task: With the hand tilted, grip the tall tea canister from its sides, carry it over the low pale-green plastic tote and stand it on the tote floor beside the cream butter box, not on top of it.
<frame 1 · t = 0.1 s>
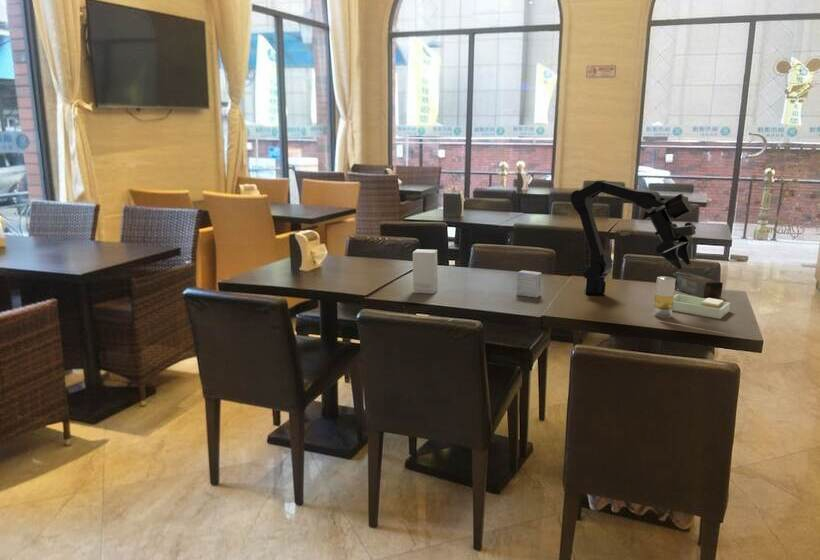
hand: (684, 266, 217), 15 cm above the table, tool tilted 35°, fingers open, 9 cm apart
skincare box: (424, 292, 239), on the table
medicine box: (528, 295, 235), on the table
butter box: (711, 312, 214), resting on tote
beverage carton: (694, 293, 242), on the table
tote: (697, 311, 217), on the table
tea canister: (662, 317, 210), on the table
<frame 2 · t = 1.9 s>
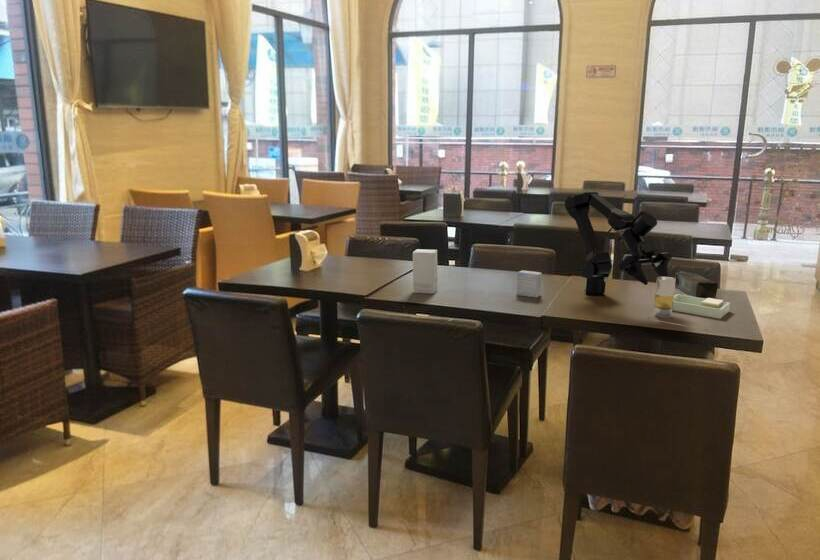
hand: (657, 283, 211), 11 cm above the table, tool tilted 45°, fingers open, 9 cm apart
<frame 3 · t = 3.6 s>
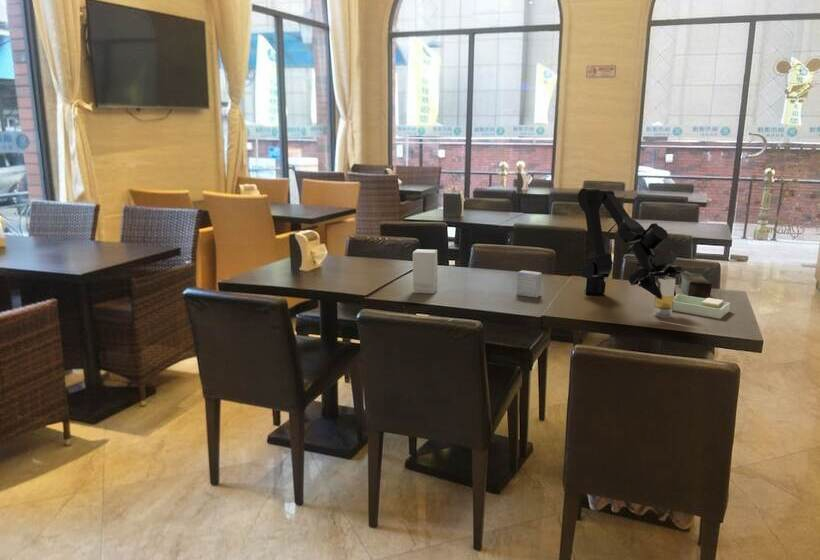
hand: (667, 297, 207), 7 cm above the table, tool tilted 45°, fingers closed on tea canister, 6 cm apart
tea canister: (662, 317, 210), on the table, touching gripper
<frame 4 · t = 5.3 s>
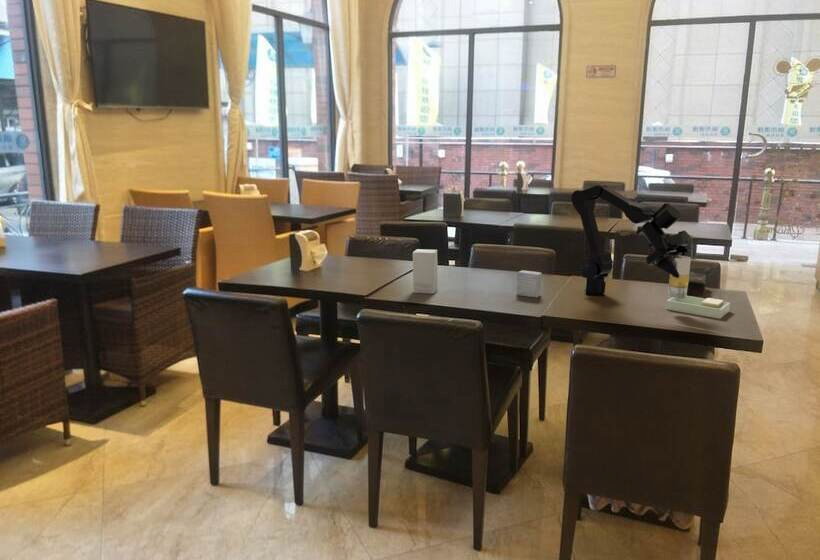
hand: (683, 275, 209), 13 cm above the table, tool tilted 45°, fingers closed on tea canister, 6 cm apart
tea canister: (677, 295, 212), point 6 cm above the table, touching gripper
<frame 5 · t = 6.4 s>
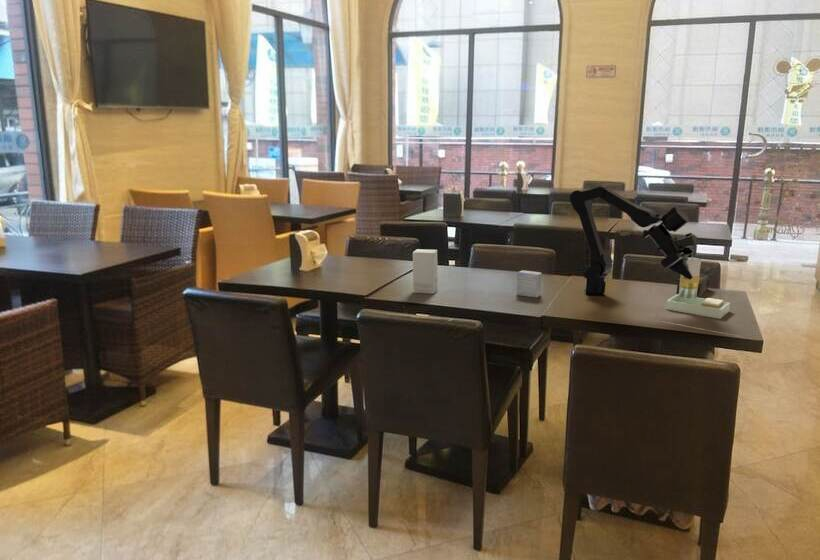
hand: (694, 276, 215), 12 cm above the table, tool tilted 45°, fingers closed on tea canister, 6 cm apart
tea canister: (687, 296, 218), point 5 cm above the table, touching gripper
when the fingers open (9 cm above the table, at t = 7.4 s): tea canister drops 1 cm, resting on tote.
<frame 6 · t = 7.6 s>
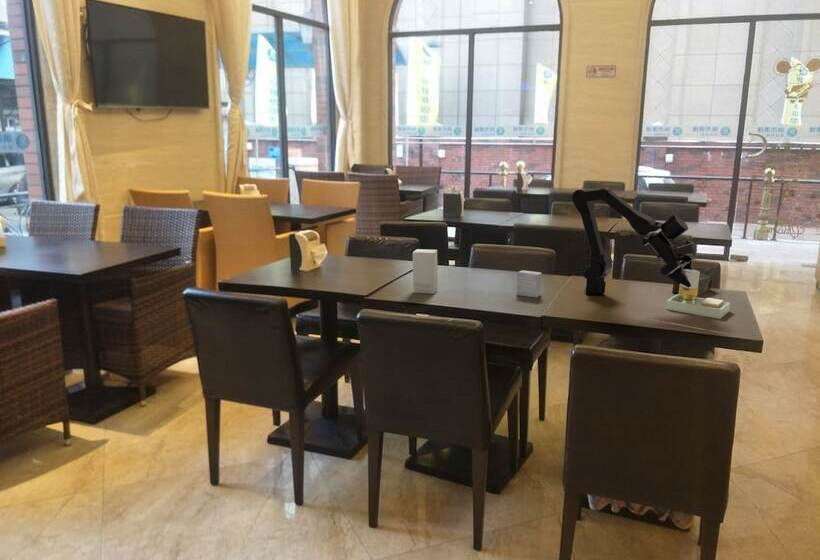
hand: (693, 284, 216), 9 cm above the table, tool tilted 45°, fingers open, 8 cm apart
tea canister: (686, 308, 219), point 1 cm above the table, touching tote
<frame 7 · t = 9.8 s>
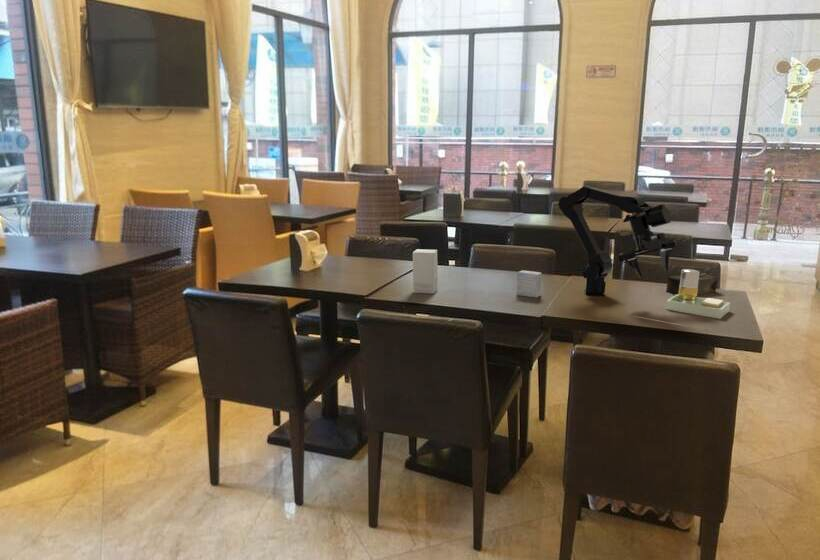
hand: (653, 274, 222), 11 cm above the table, tool tilted 20°, fingers open, 9 cm apart
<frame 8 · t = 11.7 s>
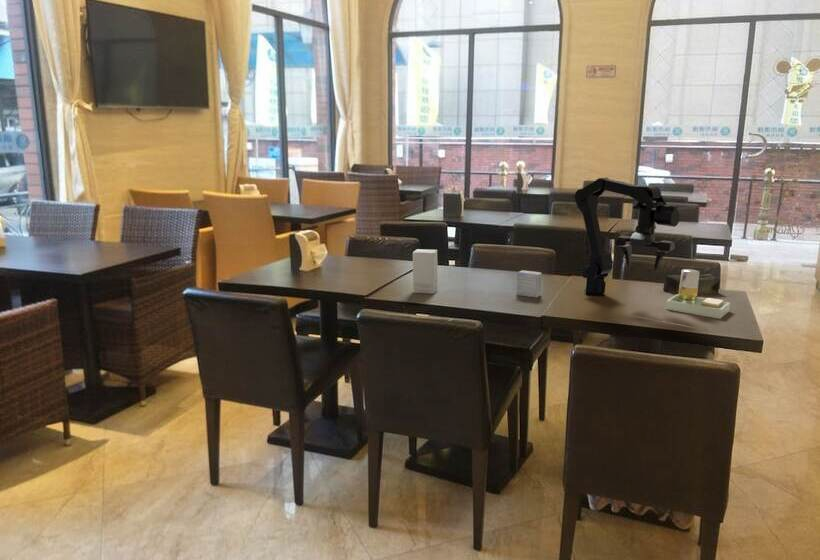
hand: (642, 267, 222), 13 cm above the table, tool pointing down, fingers open, 9 cm apart
at the end: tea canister inside the target area on the tote (0.2 cm from its centre), point 0.5 cm above the tote's base; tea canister tilted 0°; butter box moved 0.1 cm from its start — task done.
